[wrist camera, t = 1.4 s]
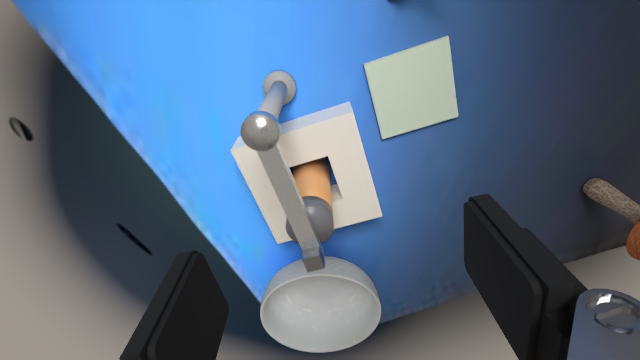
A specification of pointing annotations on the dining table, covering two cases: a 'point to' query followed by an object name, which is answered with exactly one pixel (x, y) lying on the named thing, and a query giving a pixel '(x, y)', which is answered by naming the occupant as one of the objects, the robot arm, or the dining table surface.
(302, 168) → the plug
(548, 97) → the dining table surface
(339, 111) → the socket block
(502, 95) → the dining table surface
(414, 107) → the pad
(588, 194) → the mushroom
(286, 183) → the grey ball-jointed lever
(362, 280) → the cereal bowl
